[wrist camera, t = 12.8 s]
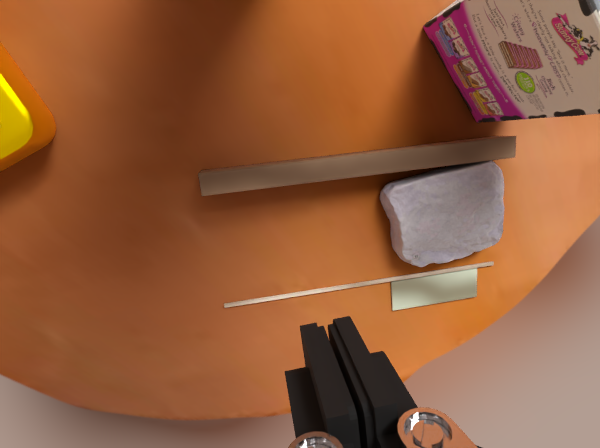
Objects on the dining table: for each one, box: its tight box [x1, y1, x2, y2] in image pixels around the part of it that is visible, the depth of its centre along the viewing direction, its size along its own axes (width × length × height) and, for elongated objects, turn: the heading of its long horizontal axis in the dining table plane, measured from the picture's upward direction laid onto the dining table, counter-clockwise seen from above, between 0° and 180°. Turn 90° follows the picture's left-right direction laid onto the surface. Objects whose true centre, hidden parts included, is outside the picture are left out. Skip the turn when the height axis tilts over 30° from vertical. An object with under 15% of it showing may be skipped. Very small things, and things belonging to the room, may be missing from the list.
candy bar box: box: [423, 0, 600, 123], centre depth 29 cm, size 11×5×16 cm, turn 37°
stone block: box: [380, 160, 504, 267], centre depth 39 cm, size 12×5×10 cm
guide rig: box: [198, 136, 516, 311], centre depth 38 cm, size 18×30×3 cm, turn 96°
